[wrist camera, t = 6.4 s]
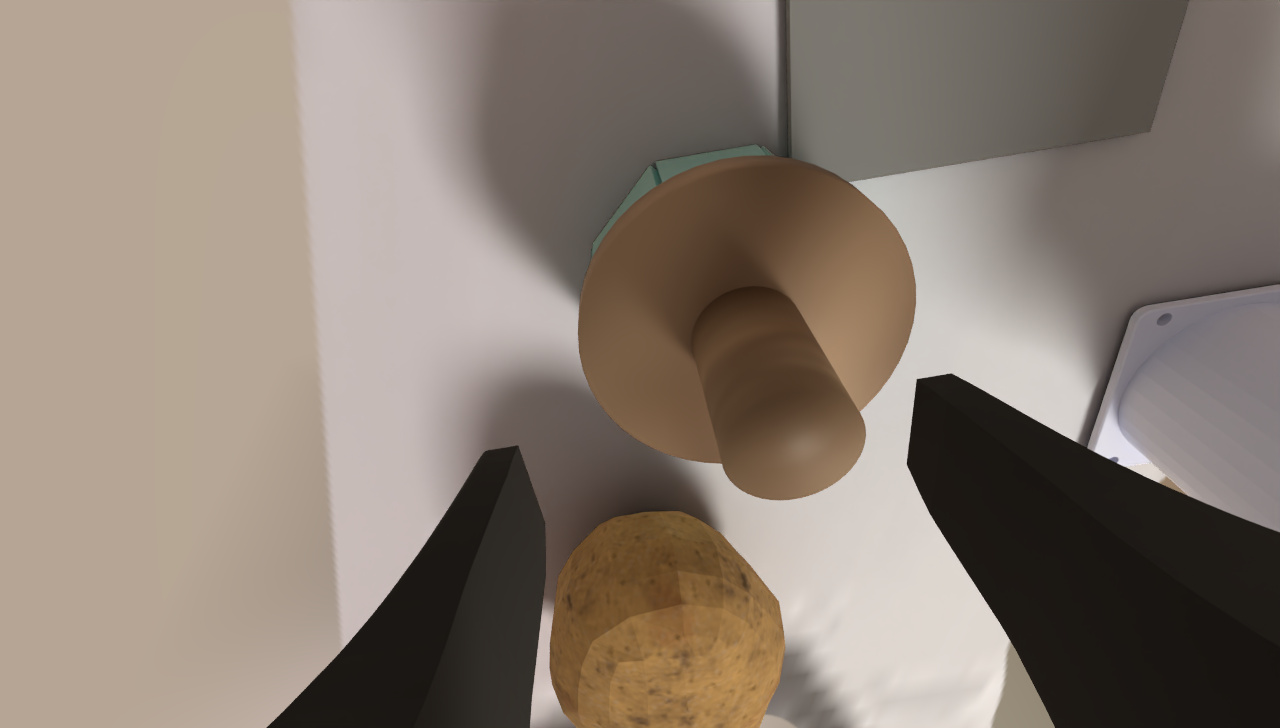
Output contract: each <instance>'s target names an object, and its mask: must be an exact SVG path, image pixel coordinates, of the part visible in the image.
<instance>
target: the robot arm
mask: <svg viewBox="0 0 1280 728" xmlns="http://www.w3.org/2000/svg"><path fill="white" fill-rule="evenodd" d="M1160 316H1161V317H1160ZM1159 317H1160V318H1159ZM1146 463H1152V464H1154V465H1155V466H1156V467H1157V468H1158V469H1159V470H1160V471H1161V472H1163V473H1164V474H1165V475H1166V476H1167V477H1168V478H1169V479H1170V480H1172V481H1173V482H1174V483H1175V484H1176V485H1177V486H1178V487H1179V488H1180V489H1182V490H1183V491H1184V492H1185V493H1186V494H1187V495H1188V496H1187V495H1185V494H1182V493H1180V492H1178V491H1175V490H1173V489H1171V488H1168V487H1166V486H1164V485H1162V484H1160V483H1158V482H1155V481H1153V480H1151V479H1149V478H1147V477H1144V476H1142V475H1140V474H1138V473H1136V472H1134V471H1132V470H1130V469H1128V468H1126V467H1127V466H1133V465H1140V464H1146ZM907 466H908V468H909V470H910V472H911V475H912V477H913V479H914V481H915V484H916V486H917V488H918V490H919V492H920V494H921V496H922V499H923V501H924V503H925V505H926V507H927V509H928V511H929V513H930V515H931V516H932V518H933V520H934V521H935V523H936V524H937V526H938V528H939V529H940V531H941V532H942V534H943V535H944V537H945V539H946V540H947V542H948V543H949V545H950V546H951V548H952V550H953V551H954V553H955V554H956V556H957V557H958V559H959V561H960V562H961V564H962V565H963V567H964V568H965V570H966V571H967V573H968V574H969V576H970V578H971V579H972V581H973V582H974V584H975V585H976V587H977V588H978V590H979V591H980V593H981V595H982V596H983V598H984V599H985V601H986V602H987V604H988V605H989V607H990V609H991V610H992V612H993V613H994V615H995V616H996V618H997V619H998V621H999V622H1000V624H1001V626H1002V627H1003V629H1004V631H1005V632H1006V634H1007V636H1008V638H1009V639H1010V641H1011V643H1012V644H1013V646H1014V648H1015V649H1016V651H1017V653H1018V655H1019V657H1020V659H1021V661H1022V663H1023V665H1024V667H1025V669H1026V671H1027V673H1028V674H1029V676H1030V678H1031V680H1032V682H1033V684H1034V686H1035V688H1036V690H1037V692H1038V694H1039V696H1040V698H1041V700H1042V702H1043V704H1044V706H1045V707H1046V710H1047V712H1048V714H1049V716H1050V718H1051V720H1052V722H1053V724H1054V726H1055V728H1280V284H1278V285H1271V286H1265V287H1259V288H1253V289H1246V290H1240V291H1234V292H1228V293H1221V294H1215V295H1209V296H1203V297H1196V298H1190V299H1184V300H1178V301H1171V302H1165V303H1159V304H1153V305H1147V306H1144V307H1141V308H1139V309H1138V310H1136V311H1135V312H1134V313H1133V314H1132V316H1131V318H1130V321H1129V324H1128V327H1127V330H1126V333H1125V336H1124V339H1123V342H1122V345H1121V348H1120V351H1119V354H1118V357H1117V360H1116V363H1115V366H1114V369H1113V372H1112V375H1111V378H1110V381H1109V384H1108V387H1107V390H1106V393H1105V396H1104V399H1103V402H1102V405H1101V408H1100V411H1099V414H1098V417H1097V420H1096V423H1095V426H1094V429H1093V432H1092V435H1091V438H1090V441H1089V444H1088V447H1087V448H1086V447H1084V446H1082V445H1080V444H1078V443H1076V442H1074V441H1073V440H1071V439H1069V438H1067V437H1065V436H1063V435H1061V434H1060V433H1058V432H1056V431H1054V430H1052V429H1050V428H1049V427H1047V426H1045V425H1043V424H1041V423H1040V422H1038V421H1036V420H1034V419H1032V418H1031V417H1029V416H1027V415H1025V414H1023V413H1022V412H1020V411H1018V410H1016V409H1015V408H1013V407H1011V406H1009V405H1008V404H1006V403H1004V402H1002V401H1001V400H999V399H997V398H995V397H994V396H992V395H990V394H988V393H986V392H985V391H983V390H981V389H979V388H978V387H976V386H974V385H972V384H970V383H969V382H967V381H965V380H963V379H961V378H959V377H957V376H955V375H953V374H946V375H940V376H934V377H928V378H922V379H917V383H916V391H915V399H914V408H913V416H912V425H911V433H910V442H909V450H908V458H907ZM545 576H546V545H545V521H544V519H543V516H542V513H541V510H540V507H539V504H538V501H537V498H536V495H535V493H534V490H533V487H532V484H531V481H530V478H529V475H528V472H527V470H526V467H525V464H524V461H523V458H522V455H521V452H520V449H519V446H513V447H507V448H501V449H495V450H488V451H485V452H484V453H483V455H482V456H481V457H480V459H479V461H478V462H477V464H476V465H475V467H474V469H473V470H472V472H471V473H470V475H469V477H468V478H467V480H466V482H465V483H464V485H463V486H462V488H461V490H460V491H459V493H458V494H457V496H456V498H455V499H454V501H453V502H452V504H451V506H450V507H449V509H448V510H447V512H446V513H445V515H444V516H443V518H442V519H441V521H440V522H439V524H438V525H437V527H436V528H435V530H434V531H433V533H432V534H431V536H430V538H429V539H428V541H427V542H426V544H425V545H424V546H423V548H422V549H421V551H420V552H419V554H418V555H417V556H416V558H415V559H414V561H413V562H412V563H411V565H410V566H409V567H408V569H407V570H406V571H405V573H404V574H403V575H402V577H401V578H400V580H399V581H398V582H397V584H396V585H395V586H394V588H393V589H392V590H391V592H390V593H389V594H388V596H387V597H386V598H385V600H384V601H383V602H382V603H381V605H380V606H379V607H378V608H377V610H376V611H375V612H374V613H373V615H372V616H371V617H370V618H369V619H368V621H367V622H366V623H365V624H364V625H363V627H362V628H361V629H360V630H359V631H358V632H357V634H356V635H355V636H354V637H353V638H352V640H351V641H350V642H349V643H348V644H347V645H346V646H345V648H344V649H343V650H342V651H341V652H340V653H339V654H338V655H337V657H336V658H335V659H334V660H333V661H332V662H331V663H330V664H329V665H328V666H327V667H326V668H325V669H324V670H323V671H322V672H321V673H320V674H319V675H318V676H317V677H316V678H315V679H314V680H313V681H312V682H311V683H310V685H309V686H308V687H307V688H306V689H305V690H304V691H303V692H302V693H301V694H300V695H299V696H298V697H297V698H296V699H295V700H294V701H293V702H292V703H291V704H290V705H289V706H288V707H287V708H286V709H285V710H284V711H283V712H282V713H281V714H280V715H279V716H278V717H277V718H276V719H275V720H274V721H273V722H272V723H271V724H270V725H269V726H268V727H267V728H530V716H531V702H532V692H533V683H534V675H535V666H536V657H537V649H538V640H539V631H540V623H541V614H542V605H543V596H544V586H545Z"/></svg>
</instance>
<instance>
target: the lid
mask: <svg viewBox="0 0 1280 728" xmlns="http://www.w3.org/2000/svg"><path fill="white" fill-rule="evenodd" d="M915 306H916V283H915V277H914V272H913V266H912V262H911V260H910V257H909V254H908V251H907V248H906V245H905V244H904V242H903V240H902V238H901V236H900V234H899V233H898V231H897V229H896V228H895V226H894V225H893V224H892V222H891V221H890V220H889V219H888V217H887V216H886V215H885V214H884V212H883V211H882V210H880V209H879V208H878V207H877V206H876V205H875V204H874V203H873V202H872V201H870V200H869V199H868V198H867V197H866V196H865V195H864V194H862V193H861V192H860V191H859V190H858V189H857V188H855V187H854V186H853V185H852V184H850V183H849V182H847V181H846V180H844V179H842V178H841V177H839V176H838V175H836V174H835V173H833V172H830V171H828V170H826V169H824V168H821V167H819V166H817V165H815V164H811V163H807V162H804V161H800V160H796V159H793V158H786V157H778V156H770V155H762V156H740V157H733V158H726V159H720V160H716V161H713V162H709V163H706V164H702V165H699V166H696V167H693V168H691V169H689V170H686V171H684V172H682V173H679V174H677V175H675V176H673V177H671V178H669V179H668V180H666V181H664V182H663V183H661V184H659V185H657V186H656V187H654V188H653V189H651V190H650V191H649V192H647V193H646V194H645V195H643V196H642V197H641V198H640V199H638V200H637V201H636V202H634V203H633V204H632V205H631V206H630V207H629V208H628V209H627V210H626V211H625V212H624V213H623V214H622V215H621V216H620V217H619V218H618V219H617V221H616V222H615V223H614V225H613V226H612V227H611V228H610V230H609V231H608V232H607V234H606V235H605V236H604V238H603V240H602V241H601V243H600V245H599V247H598V248H597V250H596V252H595V254H594V255H593V257H592V260H591V262H590V265H589V267H588V270H587V272H586V275H585V279H584V283H583V287H582V291H581V295H580V306H579V320H578V340H579V353H580V358H581V363H582V367H583V371H584V374H585V376H586V379H587V381H588V384H589V387H590V389H591V390H592V392H593V394H594V396H595V397H596V399H597V401H598V403H599V404H600V405H601V406H602V408H603V409H604V410H605V412H606V413H607V414H608V415H609V417H610V418H611V419H612V420H613V421H615V422H616V423H617V424H618V425H619V426H620V427H621V428H622V429H623V430H624V431H626V432H627V433H629V434H630V435H631V436H633V437H634V438H635V439H637V440H639V441H640V442H642V443H644V444H646V445H648V446H649V447H651V448H653V449H656V450H658V451H661V452H663V453H666V454H668V455H672V456H675V457H679V458H682V459H686V460H692V461H698V462H704V463H721V464H722V465H723V469H724V471H725V473H726V475H727V476H728V478H729V479H730V481H731V482H732V483H733V484H734V485H735V486H736V487H738V488H739V489H740V490H742V491H744V492H746V493H747V494H750V495H752V496H755V497H759V498H762V499H769V500H790V499H797V498H802V497H806V496H809V495H812V494H815V493H817V492H820V491H822V490H824V489H826V488H828V487H829V486H831V485H833V484H834V483H836V482H837V481H839V480H840V479H841V478H842V477H843V476H845V475H846V474H847V473H848V472H849V471H850V470H851V468H852V467H853V466H854V465H855V463H856V462H857V460H858V458H859V457H860V455H861V453H862V450H863V447H864V444H865V437H866V430H865V424H864V420H863V418H862V416H861V414H860V411H861V410H862V409H863V408H864V407H865V406H866V405H867V404H868V403H869V402H870V401H871V400H872V399H873V398H874V397H875V396H876V395H877V394H878V392H879V391H880V390H881V388H882V387H883V386H884V384H885V383H886V382H887V380H888V379H889V378H890V376H891V375H892V373H893V371H894V369H895V368H896V366H897V364H898V363H899V361H900V359H901V357H902V354H903V352H904V350H905V347H906V345H907V343H908V340H909V336H910V333H911V329H912V326H913V321H914V314H915Z"/></svg>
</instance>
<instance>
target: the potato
mask: <svg viewBox="0 0 1280 728" xmlns="http://www.w3.org/2000/svg"><path fill="white" fill-rule="evenodd" d="M784 652H785V640H784V631H783V625H782V618H781V612H780V605H779V601H778V600H777V599H776V597H775V596H774V595H773V594H772V592H771V591H770V590H769V589H768V587H767V586H766V585H765V584H764V582H763V581H762V580H761V579H760V577H759V576H758V575H757V574H756V572H755V571H754V570H753V568H752V567H751V566H750V565H749V564H748V563H747V561H746V560H745V559H744V558H743V557H742V556H741V555H740V554H739V553H738V552H737V551H736V550H735V549H734V548H733V547H732V545H731V544H730V543H729V542H728V541H727V540H726V539H725V537H724V536H723V535H722V534H721V533H719V532H718V531H716V530H715V529H713V528H712V527H710V526H708V525H707V524H705V523H704V522H702V521H701V520H699V519H697V518H695V517H692V516H690V515H688V514H685V513H683V512H681V511H660V512H640V513H637V514H630V515H623V516H617V517H614V518H612V519H610V520H607V521H605V522H603V523H601V524H599V525H598V526H597V527H596V528H595V529H594V530H593V531H592V532H591V533H590V534H589V535H588V536H587V537H586V538H585V539H584V540H583V541H582V542H581V544H580V545H579V546H578V547H577V548H576V549H575V550H574V551H573V552H572V554H571V555H570V557H569V559H568V561H567V562H566V564H565V566H564V567H563V569H562V571H561V573H560V574H559V576H558V583H557V591H556V598H555V606H554V614H553V623H552V631H551V639H550V673H551V679H552V685H553V688H554V690H555V693H556V695H557V698H558V700H559V703H560V705H561V708H562V710H563V713H564V714H565V715H566V716H567V717H568V718H569V719H570V720H571V722H572V723H573V724H574V725H575V726H576V727H577V728H759V727H760V725H761V722H762V720H763V717H764V715H765V712H766V709H767V707H768V704H769V701H770V700H771V698H772V696H773V694H774V692H775V690H776V688H777V686H778V684H779V681H780V675H781V669H782V664H783V658H784Z"/></svg>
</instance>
